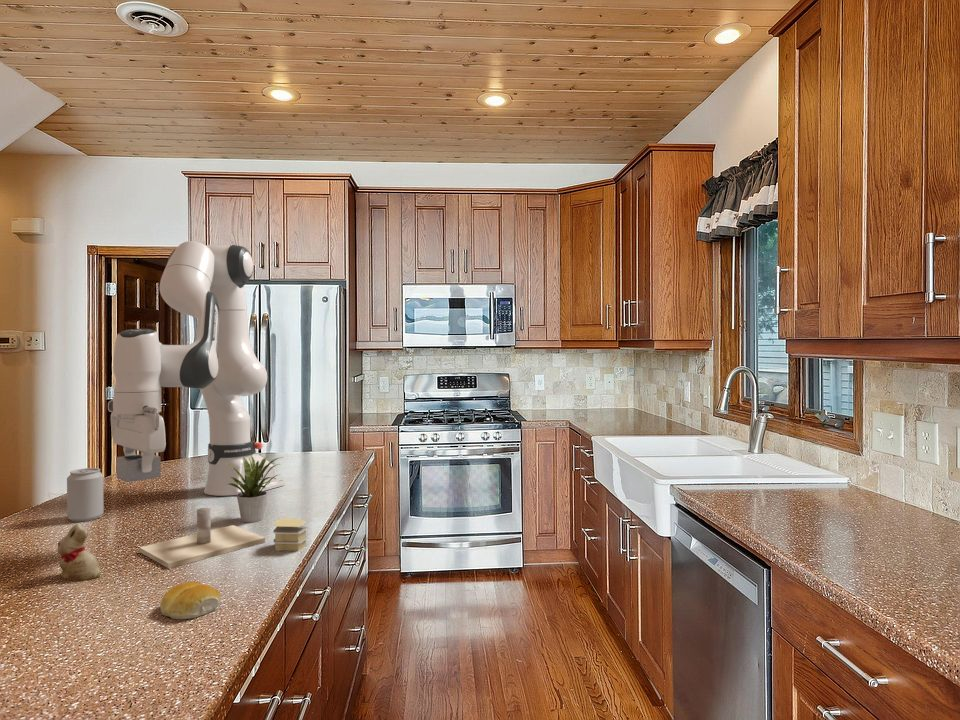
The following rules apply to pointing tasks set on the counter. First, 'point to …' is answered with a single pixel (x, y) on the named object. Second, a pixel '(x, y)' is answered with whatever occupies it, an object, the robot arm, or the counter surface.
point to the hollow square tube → (136, 468)
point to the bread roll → (189, 600)
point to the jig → (201, 543)
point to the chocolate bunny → (77, 556)
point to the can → (85, 494)
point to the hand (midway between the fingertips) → (138, 469)
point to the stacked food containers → (290, 534)
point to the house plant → (252, 490)
